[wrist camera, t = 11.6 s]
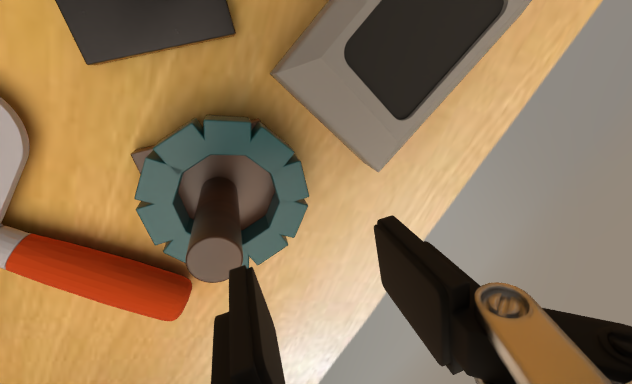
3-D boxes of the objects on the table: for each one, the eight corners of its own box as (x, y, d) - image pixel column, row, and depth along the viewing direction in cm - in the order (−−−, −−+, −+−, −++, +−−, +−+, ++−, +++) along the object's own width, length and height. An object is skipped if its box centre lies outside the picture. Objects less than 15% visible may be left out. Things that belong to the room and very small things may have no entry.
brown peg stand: (259, 118, 20) (279, 149, 12) (287, 219, 23) (319, 296, 15) (134, 149, 19) (65, 209, 11) (184, 252, 22) (159, 355, 14)
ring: (279, 96, 19) (285, 98, 17) (314, 230, 23) (321, 243, 21) (114, 138, 17) (101, 146, 16) (183, 274, 22) (179, 292, 20)
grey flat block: (278, 74, 16) (479, -173, 14) (269, 73, 19) (432, -128, 18) (386, 177, 20) (551, -5, 19) (364, 162, 23) (502, 6, 22)
